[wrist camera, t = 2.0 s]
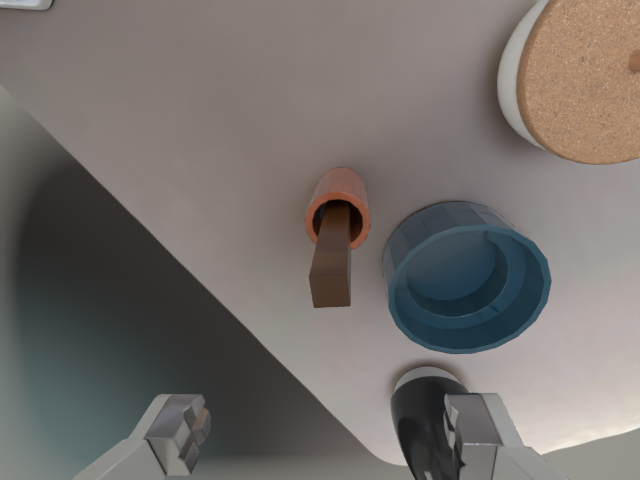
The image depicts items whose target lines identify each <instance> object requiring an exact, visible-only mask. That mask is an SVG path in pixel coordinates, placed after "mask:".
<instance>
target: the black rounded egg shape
mask: <svg viewBox="0 0 640 480" xmlns="http://www.w3.org/2000/svg"><path fill="white" fill-rule="evenodd" d="M446 393H469V391H468V390H467V389H466V388H465V387H464V386H463V385H462V384H461V383H460V382H459V381H458V380H457V379H456V378H455V377H454V376H453V375H451V374H450V373H448V372H447V371H445V370H442V369H439V368H436V367H419V368H415V369H413V370H410V371H409V372H407V373H406V374H404V375H403V376H402V377H401V378H400V380H399V381H398V383H397V384H396V387H395V389H394V393H393V396H392V398H391V403H390V408H391V416H392V420H393V424H394V428H395V432H396V435H397V438H398V442H399V444H400V447H401V450H402V452H403V455H404V457H405V460H406V462H407V464H408V466H409V468H410V470H411V472H412V474H413V476H414V478H415V480H458V478H457V475H456V471H455V467H454V464H453V449H452V448H451V447H450V446H449V445H448V441H447V438H446V433H445V428H444V411H445V410H446V406H445V402H444V399H445V394H446Z"/></svg>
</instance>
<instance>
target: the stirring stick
mask: <svg viewBox="0 0 640 480" xmlns="http://www.w3.org/2000/svg"><path fill="white" fill-rule="evenodd" d="M309 281H310V287H311V294H312V300H313V306H314V308H323V307H344V306H350V305H351V202H349V201H345V200H342V199H335V200H329V201H327V202H326V206H325V210H324V214H323V219H322V223H321V227H320V232H319V236H318V240H317V244H316V249H315V253H314V257H313V261H312V266H311V270H310V274H309Z"/></svg>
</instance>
